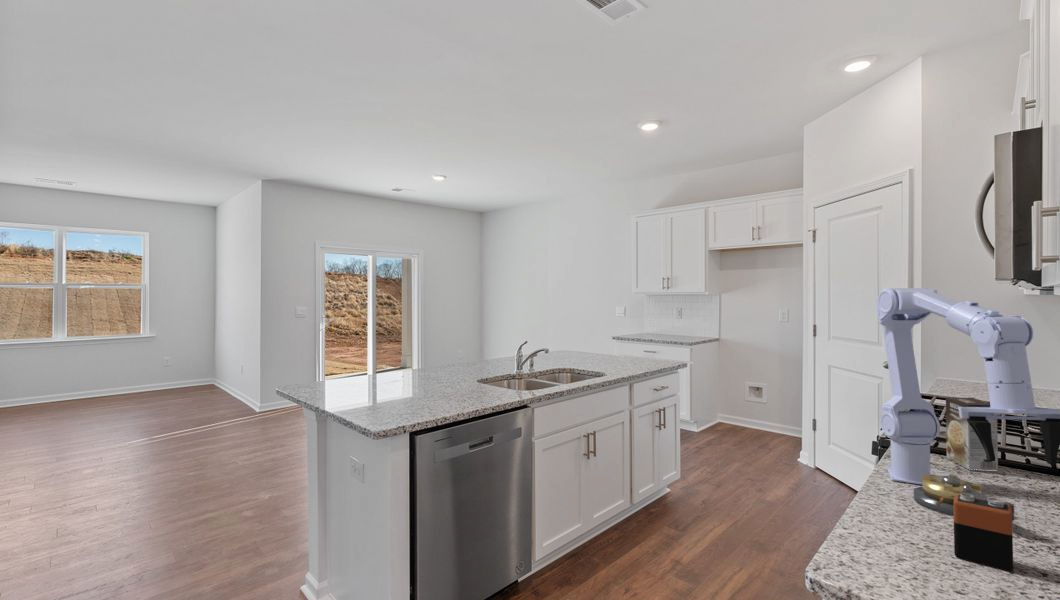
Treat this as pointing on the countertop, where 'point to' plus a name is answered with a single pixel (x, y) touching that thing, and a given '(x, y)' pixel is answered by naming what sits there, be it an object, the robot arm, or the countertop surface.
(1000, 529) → the battery
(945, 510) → the mounting plate
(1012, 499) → the countertop surface
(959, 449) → the coffee box
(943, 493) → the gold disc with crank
